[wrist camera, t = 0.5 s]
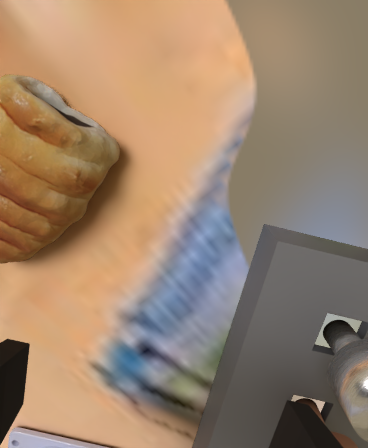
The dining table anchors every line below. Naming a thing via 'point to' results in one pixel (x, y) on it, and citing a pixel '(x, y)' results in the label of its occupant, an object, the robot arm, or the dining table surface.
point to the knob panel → (284, 338)
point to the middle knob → (345, 441)
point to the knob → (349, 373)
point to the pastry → (45, 165)
